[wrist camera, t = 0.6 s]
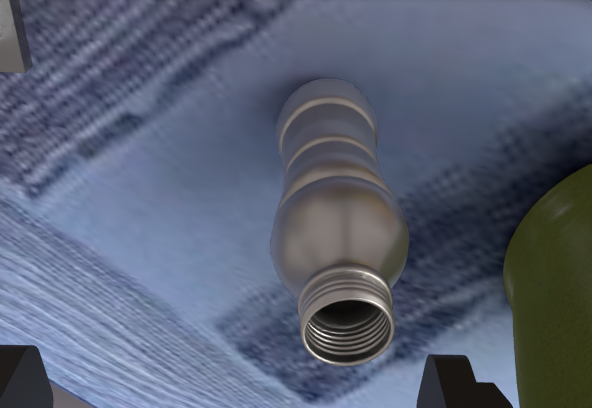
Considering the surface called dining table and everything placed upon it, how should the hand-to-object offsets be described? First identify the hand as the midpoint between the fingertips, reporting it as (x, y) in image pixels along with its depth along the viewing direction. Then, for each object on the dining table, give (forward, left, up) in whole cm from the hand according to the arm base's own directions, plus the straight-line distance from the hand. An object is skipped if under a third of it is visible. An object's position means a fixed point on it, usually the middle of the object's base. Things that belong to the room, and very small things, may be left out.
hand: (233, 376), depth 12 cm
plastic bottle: (+6, +4, -28) cm, 28 cm away
